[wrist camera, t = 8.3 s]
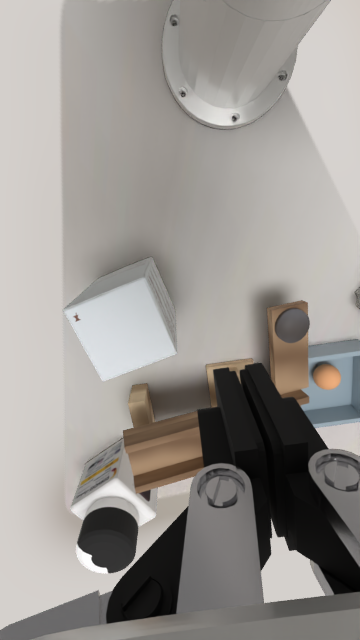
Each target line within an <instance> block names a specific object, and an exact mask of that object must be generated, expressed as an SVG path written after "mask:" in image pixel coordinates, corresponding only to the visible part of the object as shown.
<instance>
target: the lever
mask: <svg viewBox="0 0 360 640" xmlns="http://www.w3.org/2000/svg"><path fill="white" fill-rule="evenodd" d="M267 317H268V334H269V351H270V368H271V380H272V382H273V383H274V385H275V387H276V388H277V390H278V392H279V393H280V395H281V397H282V398H286V397H294V398H295V399H296V400H297V402H298V403H299V405H300V406H301V405H304V404H308V403H309V396H308V395H307V394H306V393H304V392H303V391H302V390H301V389H304V388H307V387H309V370H308V329H309V325H310V322H309V317H308V303H307V302H305V301H302V300H301V301H297V302H292V303H287V304H283V305H278V306H274V307H269V308H267ZM214 407H217V406H214ZM211 408H213V407H211ZM123 436H124V448H125V452H126V454H127V453H128V457H129V461H130V465H131V469H132V473H133V477H134V487H135V491H136V494H137V493H141V492H144V491H147V490H151V489H154V488H157V487H161V486H164V485H167V484H171V483H174V482H177V481H181V480H184V479H187V478H191V477H194V476H196V474H197V473H198V472H199V471H201V470H202V469H203V468H204V464H203V456H202V447H201V439H200V430H199V422H198V414H197V411H195V412H192V413H188V414H184V415H180V416H176V417H173V418H169V419H165V420H161V421H158V422H154V423H150V424H146V425H142V426H139V427H135V428H131V429H127V430H123Z"/></svg>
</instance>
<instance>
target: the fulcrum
mask: <svg viewBox="0 0 360 640" xmlns="http://www.w3.org/2000/svg"><path fill="white" fill-rule="evenodd" d="M248 364H253V360H252V358H251V359H244V360H237V361H230V362H223V363H216V364H208V365H206V370H207V377H208V385H209V392H210V400H211V407H214V406H217V399H216V392H215V384H214V376H213V369H219V368H227V367H229V370H230V371H236V373H237V376H238V378H239V381H240V370H242V369H245V365H248ZM240 384H241V382H240Z"/></svg>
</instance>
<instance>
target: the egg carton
mask: <svg viewBox="0 0 360 640" xmlns="http://www.w3.org/2000/svg"><path fill="white" fill-rule="evenodd" d="M355 294H356V295H357V303H356V306H357V307H358V308H360V287H359V288H358V289H357V290H356V292H355Z"/></svg>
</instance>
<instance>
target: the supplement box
mask: <svg viewBox="0 0 360 640" xmlns="http://www.w3.org/2000/svg"><path fill="white" fill-rule="evenodd" d="M63 312H64V314H65V316H66V317H67V319H68V321H69V323H70V324H71V326H72V328H73V330H74V331H75V333H76V335H77V337H78V338H79V340H80V342H81V344H82V346H83V348H84V349H85V351H86V353H87V355H88V357H89V358H90V360H91V362H92V364H93V366H94V367H95V369H96V371H97V373H98V375H99V376H100V378H101V380H102V381H103V382H104V381H107V380H110V379H112V378H115V377H118V376H120V375H123V374H126V373H128V372H131V371H134V370H136V369H139V368H142V367H144V366H147V365H149V364H152V363H155V362H157V361H160V360H162V359H165V358H168V357H170V356H173V355H176V354H177V338H176V311H175V308H174V306H173V304H172V302H171V299H170V297H169V295H168V292H167V290H166V288H165V285H164V283H163V281H162V278H161V276H160V274H159V271H158V269H157V267H156V264H155V262H154V260H153V258H152V257H149V258H146V259H144V260H141V261H139V262H136V263H134V264H131V265H129V266H126V267H124V268H121V269H119V270H117V271H114V272H112V273H110V274H107V275H105V276H103V277H100V278H98V279H97V280H96V281H95V282H93V283H92V284H91V285H90V286H89V287H88V288H87V289H86V290H85V291H83V292H82V293H81V294H80V295H79V296H78V297H77V298H76V299H74V300H73V301H72V302H71V303H70V304H69V305H68V306H67V307H65V308H64V309H63Z"/></svg>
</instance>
